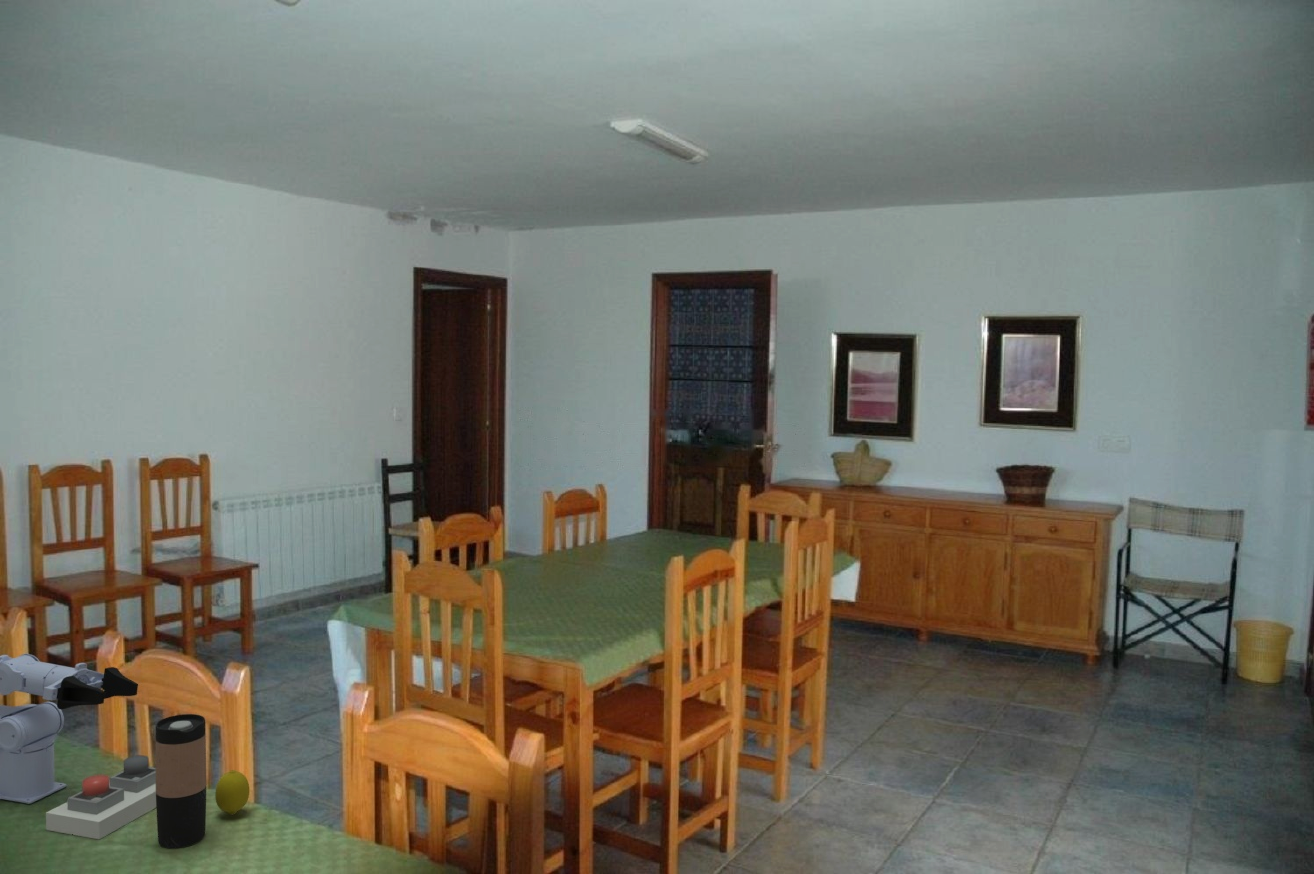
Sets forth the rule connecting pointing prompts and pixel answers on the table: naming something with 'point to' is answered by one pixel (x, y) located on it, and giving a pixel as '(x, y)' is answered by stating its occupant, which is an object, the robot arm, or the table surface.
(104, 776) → the red button
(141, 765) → the grey button
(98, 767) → the table surface
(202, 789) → the travel mug
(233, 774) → the lemon
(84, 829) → the button panel
